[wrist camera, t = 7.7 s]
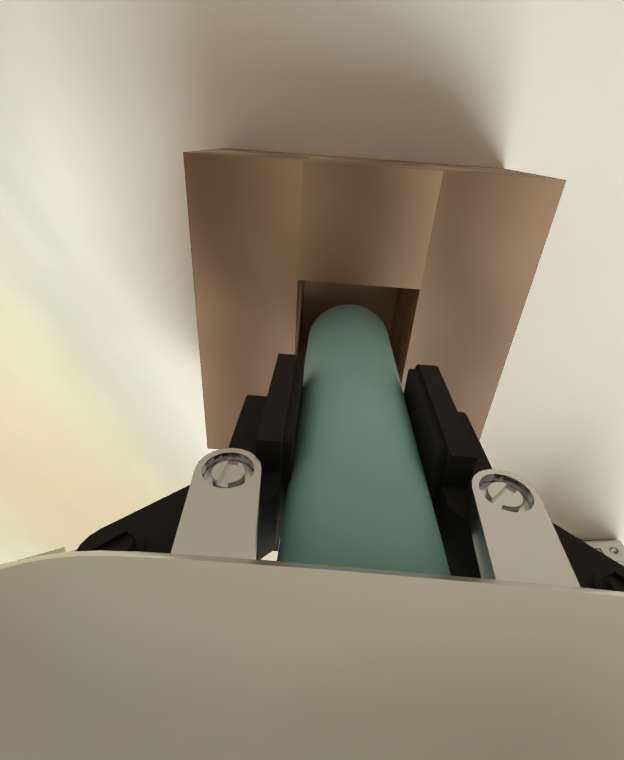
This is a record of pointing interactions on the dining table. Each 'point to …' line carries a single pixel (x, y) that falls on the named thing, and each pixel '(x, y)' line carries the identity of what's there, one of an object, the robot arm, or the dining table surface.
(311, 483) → the peg
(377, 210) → the socket block
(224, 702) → the robot arm
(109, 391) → the dining table surface
